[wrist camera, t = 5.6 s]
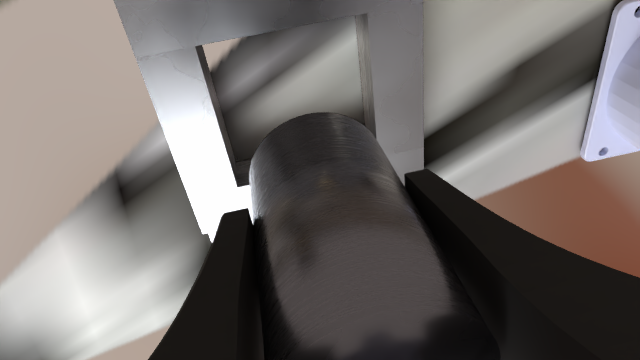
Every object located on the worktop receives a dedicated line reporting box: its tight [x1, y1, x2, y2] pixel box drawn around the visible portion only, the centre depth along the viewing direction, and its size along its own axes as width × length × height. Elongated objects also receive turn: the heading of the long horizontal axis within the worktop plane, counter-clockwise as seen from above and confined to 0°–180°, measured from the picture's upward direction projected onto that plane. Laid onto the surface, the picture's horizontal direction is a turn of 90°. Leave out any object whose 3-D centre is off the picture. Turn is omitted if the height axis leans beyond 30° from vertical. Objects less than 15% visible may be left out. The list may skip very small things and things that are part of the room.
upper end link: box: [114, 0, 424, 234], centre depth 17 cm, size 10×14×2 cm
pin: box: [249, 113, 501, 360], centre depth 11 cm, size 4×4×7 cm
